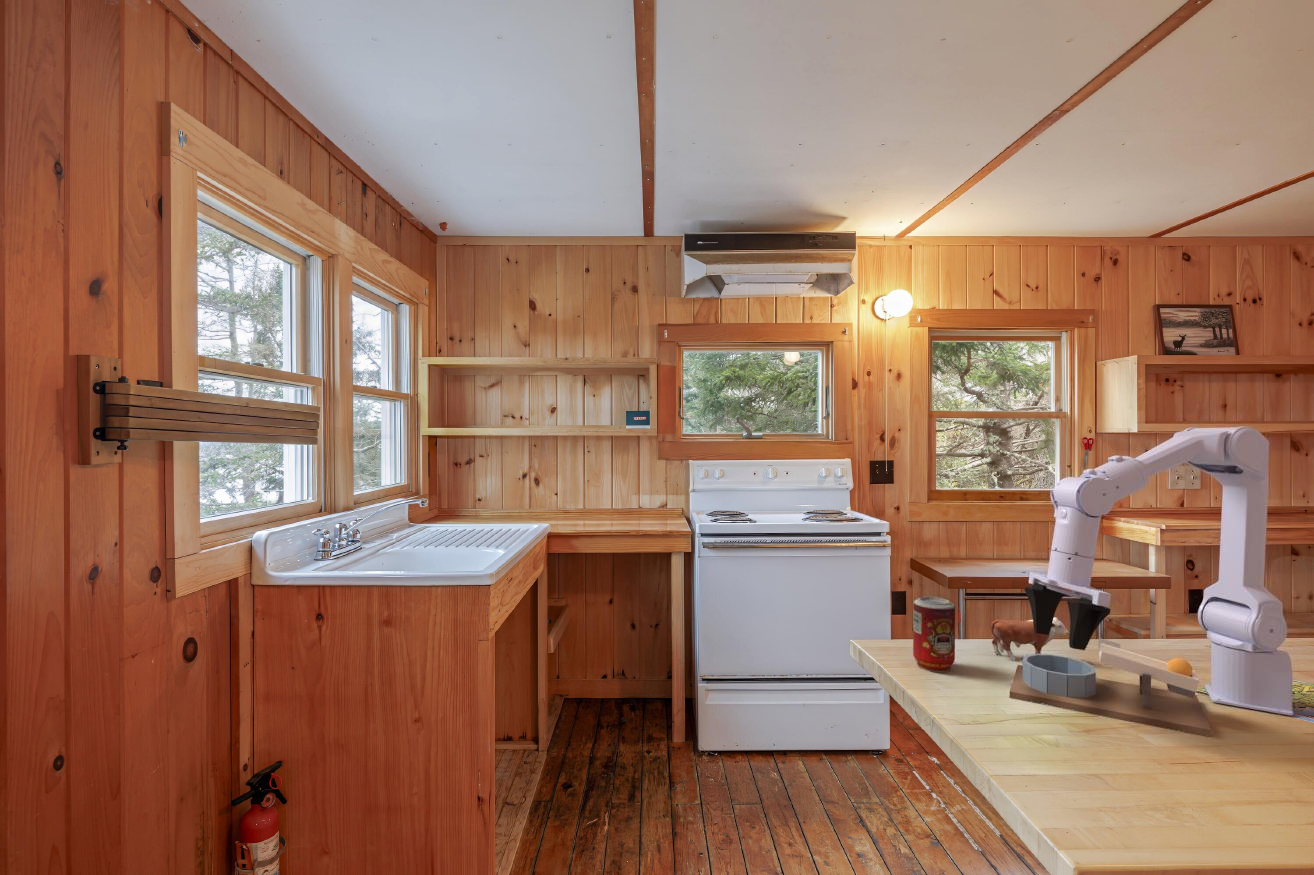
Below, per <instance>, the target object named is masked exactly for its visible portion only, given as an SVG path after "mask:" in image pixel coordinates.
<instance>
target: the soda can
mask: <svg viewBox="0 0 1314 875" xmlns="http://www.w3.org/2000/svg"><path fill="white" fill-rule="evenodd" d="M912 610H913V612H912V613H913V618H912V619H913V624H912V625H913V626H912V628H913V631H912V633H913V638H912V639H913V642H912V651H913V654H912V655H913V657H914V659H915V662H916V665H917V667H918V668H920V669H922V670H925V671H929V672H934V673H946V672H949V671H951V667H952V665H953V664H954V663H955V658H956V606H955V605H954V603H953V602H952V601H950V600H948V599H945V598H942V597H936V596H927V595H926V596H922V597H917V599H915V600H914V601H913V609H912Z"/></svg>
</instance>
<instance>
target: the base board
mask: <svg viewBox="0 0 1314 875" xmlns="http://www.w3.org/2000/svg"><path fill="white" fill-rule="evenodd" d="M1138 680H1139V683H1138V684H1133V683H1128V682H1127V683H1126V682H1121V681H1116V680H1110V679H1103V678H1097V677H1096V695H1093V696H1090V697H1086V698H1076V697H1063V696H1058V695H1053V694H1048V693H1045V692H1042V691H1039V690H1036V689H1033V688H1031V687H1029V686H1028V685H1027V684H1025V683H1024V682H1023V664H1022V665H1021V664H1017V666H1016V670H1015V672H1014V675H1013V679H1012V681H1011V682H1012V683H1011V685H1010V689H1009V698H1010V697H1011V699H1014V698H1015V700H1020V701H1025V700H1027V702H1030V701H1032V702H1031V703H1035V702H1036V704H1040V703H1044V704H1043V705H1045V704H1048V705H1047V706H1050V705H1052V706H1051V707H1055V706H1056V707H1055V708H1060V707H1062V708H1061V709H1066V710H1071V711H1076V710H1077V711H1076V712H1080V713H1081V712H1082V713H1086V714H1093V715H1097V716H1101V717H1106V718H1113V719H1117V720H1121V721H1127V722H1133V723H1137V724H1138V723H1139V724H1144V725H1147V726H1152V727H1157V728H1158V727H1159V728H1164V729H1167V728H1170V729H1169V730H1173V729H1174V731H1178V730H1180V732H1183V731H1184V733H1188V732H1190V733H1189V734H1193V733H1194V734H1193V735H1198V734H1199V736H1203V735H1207V736H1206V737H1208V736H1210V737H1209V738H1211V737H1212V728H1211V726H1210V724H1209V721H1208V719H1207V717H1206V714H1205V712H1204V710H1203V708H1202V706H1201V703H1200V701H1199V698H1198V696H1197V695H1196V694H1195V696H1194V699H1193V698H1190V697H1187V696H1184V695H1180V694H1177V693H1174V692H1171V691H1169V690H1168V689H1162V688H1157V687H1152V679H1151V675H1147V674H1142V676H1141V675H1139V679H1138Z"/></svg>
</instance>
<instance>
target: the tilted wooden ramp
mask: <svg viewBox="0 0 1314 875" xmlns="http://www.w3.org/2000/svg"><path fill="white" fill-rule="evenodd" d="M1098 656H1099V657H1098V658H1099V661H1098V662H1099V663H1100V664H1102V665H1106V666H1110V667H1112V668H1116V669H1118V670H1123V671H1125V672H1128V673H1132V674H1135V675H1138V676H1140V675H1141V676H1142V674H1147V675H1151V680H1155V681H1158V682H1162V683H1165V684H1166V687H1167V690H1169V691H1171V692H1174V693H1177V694H1180V695H1184V696H1187V697H1190V698H1193V699H1194V696H1195V695H1196V693H1197V690H1198V688H1199V687H1198V686H1199V684H1200V679H1199V678H1198V676H1197V673H1196V671H1195V670H1193V669H1192V670H1193V672H1192V675H1191V676H1190V677H1188V676H1185V675H1182V674H1178V673H1175V672H1171V671H1168V668H1167V665H1168V662H1167V661H1163V660H1160V659H1156V658H1154V657H1149V656H1146V655H1142V654H1139V653H1136V652H1134V651H1133V652H1132V651H1130V650H1126V649H1122V648H1121V644H1120V643H1117V642H1113V641H1111V640H1108V639H1104V638H1101V637H1099V638H1098Z"/></svg>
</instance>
